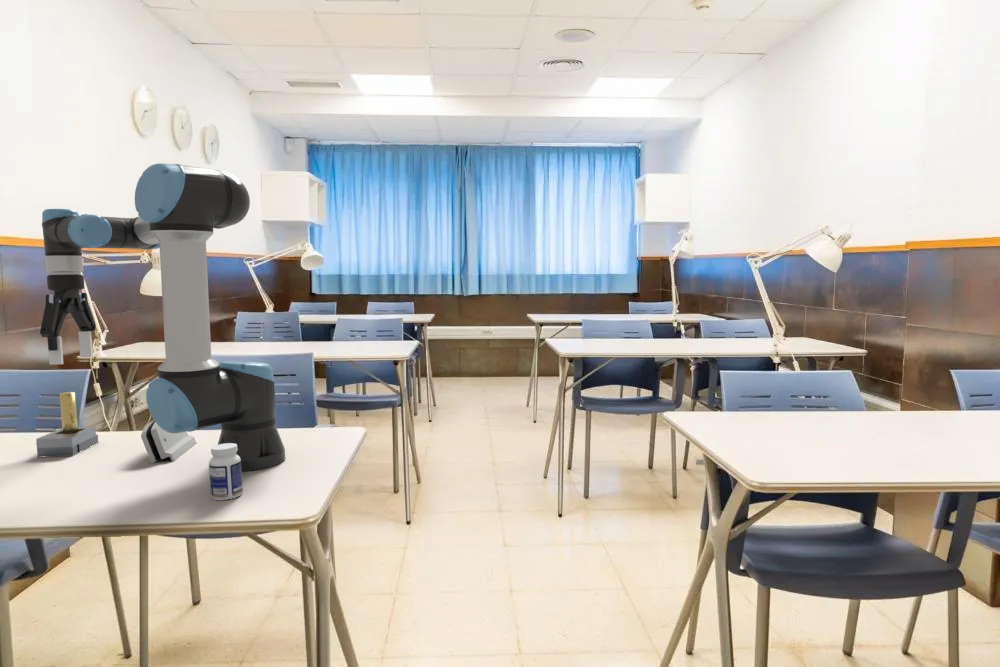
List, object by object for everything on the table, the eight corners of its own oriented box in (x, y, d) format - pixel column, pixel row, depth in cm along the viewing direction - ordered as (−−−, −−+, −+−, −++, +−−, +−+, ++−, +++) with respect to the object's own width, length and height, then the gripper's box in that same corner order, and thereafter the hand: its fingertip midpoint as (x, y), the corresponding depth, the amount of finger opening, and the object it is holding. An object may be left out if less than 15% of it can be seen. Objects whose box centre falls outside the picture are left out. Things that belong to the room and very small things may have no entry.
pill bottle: (237, 489, 131) (234, 440, 130) (246, 496, 127) (244, 446, 126) (207, 495, 128) (204, 445, 127) (215, 503, 123) (213, 451, 122)
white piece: (173, 461, 151) (155, 422, 149) (153, 469, 150) (135, 429, 149) (197, 442, 167) (181, 406, 166) (179, 449, 167) (162, 413, 166)
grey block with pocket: (65, 444, 167) (64, 427, 167) (98, 443, 168) (97, 426, 167) (37, 457, 156) (36, 438, 155) (73, 455, 156) (71, 437, 156)
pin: (74, 450, 161) (70, 394, 160) (61, 450, 161) (56, 394, 160) (81, 446, 165) (77, 391, 163) (68, 447, 164) (64, 392, 163)
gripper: (76, 273, 171) (82, 354, 173) (16, 274, 147) (24, 368, 149) (106, 273, 172) (112, 353, 174) (52, 273, 147) (59, 367, 149)
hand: (72, 360), depth 161 cm, fingers open, 13 cm apart
